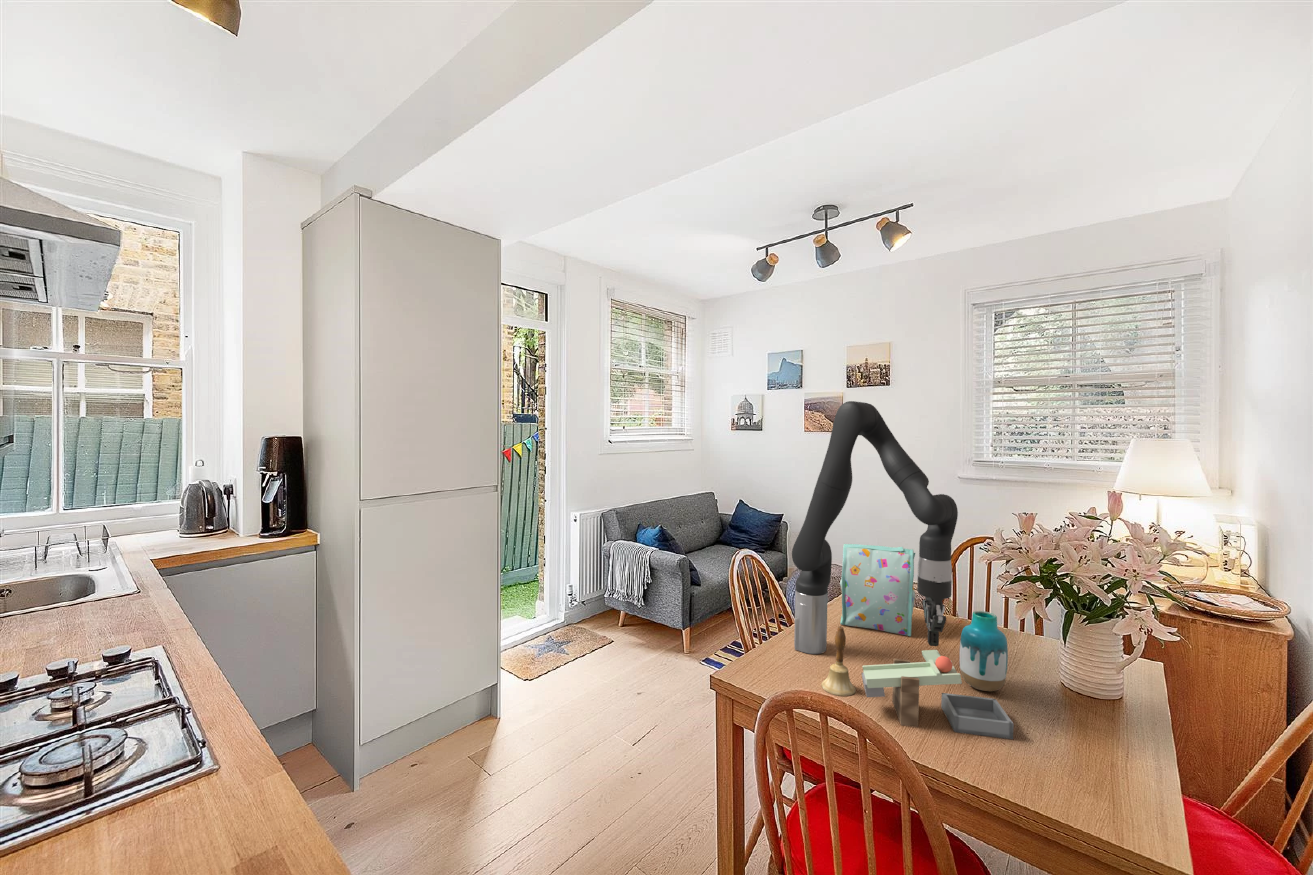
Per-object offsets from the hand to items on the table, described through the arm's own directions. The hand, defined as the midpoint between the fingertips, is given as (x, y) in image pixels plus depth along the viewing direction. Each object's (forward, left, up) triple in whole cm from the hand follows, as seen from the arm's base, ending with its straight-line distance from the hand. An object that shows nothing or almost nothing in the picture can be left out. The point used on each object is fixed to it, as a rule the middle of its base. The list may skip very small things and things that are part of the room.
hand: (933, 644), depth 137 cm
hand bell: (-22, -1, -13) cm, 26 cm away
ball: (0, -10, 0) cm, 10 cm away
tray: (+7, -10, -13) cm, 18 cm away
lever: (-7, -6, -7) cm, 11 cm away
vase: (+14, +8, -13) cm, 21 cm away
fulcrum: (-8, -10, -13) cm, 18 cm away
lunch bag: (-6, +46, -13) cm, 48 cm away
